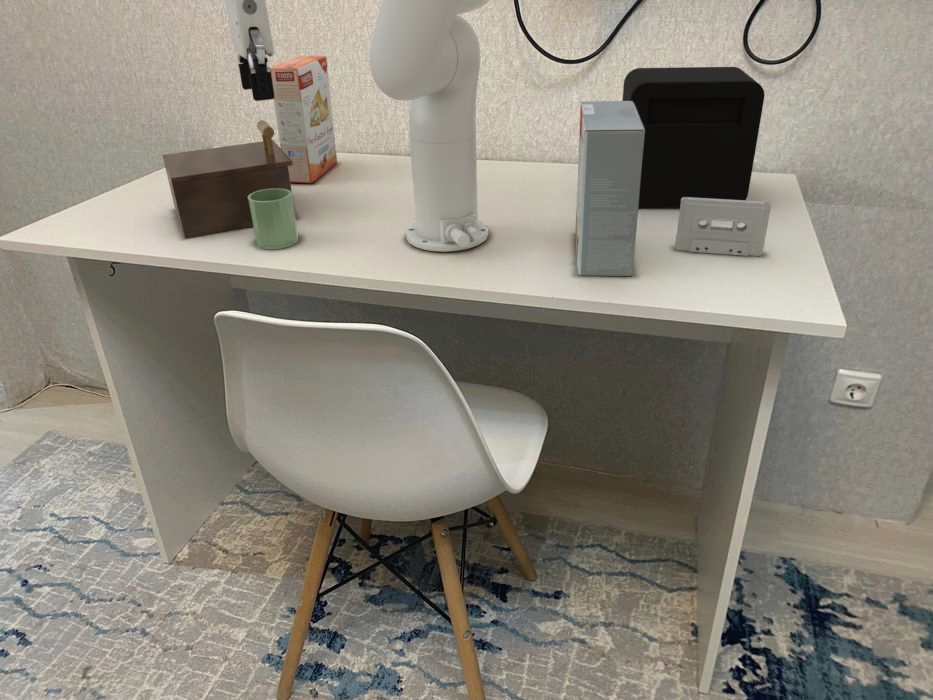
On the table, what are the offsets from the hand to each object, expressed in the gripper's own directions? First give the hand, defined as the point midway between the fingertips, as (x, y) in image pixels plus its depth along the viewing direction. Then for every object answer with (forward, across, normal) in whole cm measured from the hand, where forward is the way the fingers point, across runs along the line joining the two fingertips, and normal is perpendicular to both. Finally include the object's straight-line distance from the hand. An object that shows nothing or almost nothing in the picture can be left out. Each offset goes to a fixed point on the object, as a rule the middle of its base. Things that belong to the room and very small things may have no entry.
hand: (258, 93), depth 119 cm
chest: (+19, 0, +7) cm, 20 cm away
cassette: (+18, -51, -53) cm, 76 cm away
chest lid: (+10, 0, +7) cm, 12 cm away
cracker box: (+19, +17, -11) cm, 28 cm away
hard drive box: (+19, -44, -38) cm, 61 cm away
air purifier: (+18, -28, -64) cm, 72 cm away
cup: (+19, -16, +3) cm, 25 cm away
